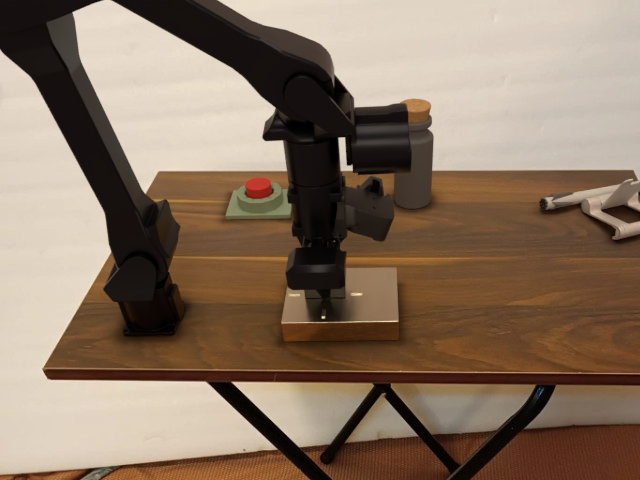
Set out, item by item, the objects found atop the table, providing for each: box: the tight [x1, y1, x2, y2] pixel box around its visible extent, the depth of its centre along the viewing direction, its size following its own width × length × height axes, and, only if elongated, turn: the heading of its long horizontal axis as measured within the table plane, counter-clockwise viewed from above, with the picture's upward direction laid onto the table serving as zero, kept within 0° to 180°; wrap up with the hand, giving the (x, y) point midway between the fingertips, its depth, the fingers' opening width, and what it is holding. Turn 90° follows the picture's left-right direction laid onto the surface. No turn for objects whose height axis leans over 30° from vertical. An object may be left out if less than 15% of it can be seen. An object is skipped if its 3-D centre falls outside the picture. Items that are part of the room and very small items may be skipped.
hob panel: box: [280, 266, 400, 342], centre depth 80 cm, size 14×11×3 cm
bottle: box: [393, 98, 435, 210], centre depth 95 cm, size 6×6×15 cm
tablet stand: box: [580, 178, 640, 241], centre depth 94 cm, size 9×8×8 cm
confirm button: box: [244, 177, 272, 199], centre depth 98 cm, size 4×4×2 cm
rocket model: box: [538, 180, 640, 211], centre depth 99 cm, size 2×2×30 cm
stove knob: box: [304, 286, 346, 298], centre depth 77 cm, size 5×2×4 cm, turn 90°
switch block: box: [224, 181, 293, 220], centre depth 99 cm, size 10×8×2 cm
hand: (326, 291), depth 78 cm, fingers closed on stove knob, 2 cm apart
